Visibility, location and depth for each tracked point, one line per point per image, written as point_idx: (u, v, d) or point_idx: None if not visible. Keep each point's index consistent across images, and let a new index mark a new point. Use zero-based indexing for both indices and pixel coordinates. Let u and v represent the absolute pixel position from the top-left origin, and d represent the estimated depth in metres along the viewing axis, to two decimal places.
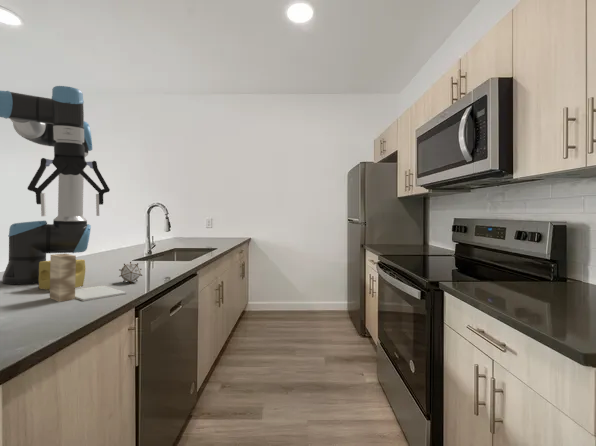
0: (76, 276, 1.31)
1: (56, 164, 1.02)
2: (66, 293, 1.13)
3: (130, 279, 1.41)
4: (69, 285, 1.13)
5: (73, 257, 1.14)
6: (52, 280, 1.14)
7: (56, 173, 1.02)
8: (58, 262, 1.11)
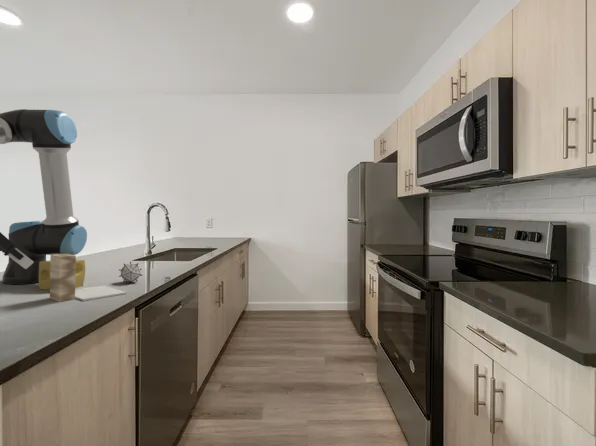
0: (76, 276, 1.31)
1: None
2: (66, 293, 1.13)
3: (130, 279, 1.41)
4: (69, 285, 1.13)
5: (73, 257, 1.14)
6: (52, 280, 1.14)
7: None
8: (58, 262, 1.11)
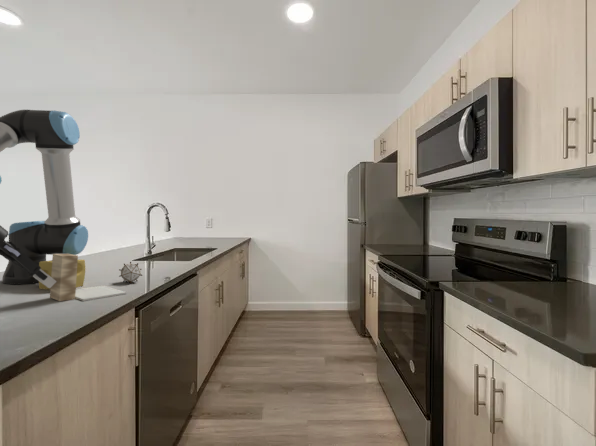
0: None
1: None
2: (67, 293, 1.13)
3: (130, 279, 1.41)
4: (70, 285, 1.13)
5: (75, 257, 1.14)
6: None
7: (7, 259, 1.03)
8: (60, 261, 1.12)
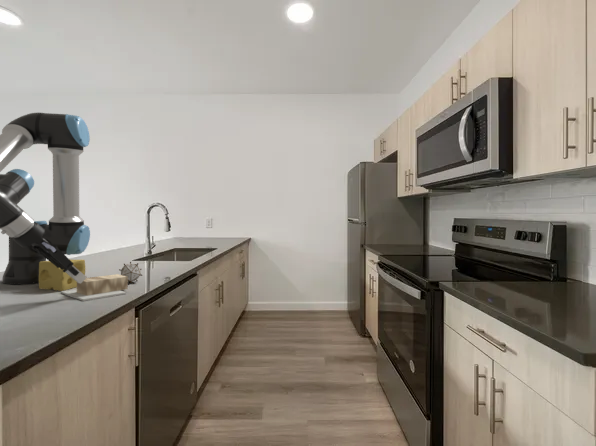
0: None
1: None
2: (93, 287, 1.19)
3: (130, 279, 1.41)
4: (100, 288, 1.21)
5: (126, 287, 1.28)
6: (97, 277, 1.25)
7: (43, 255, 1.10)
8: (121, 276, 1.28)
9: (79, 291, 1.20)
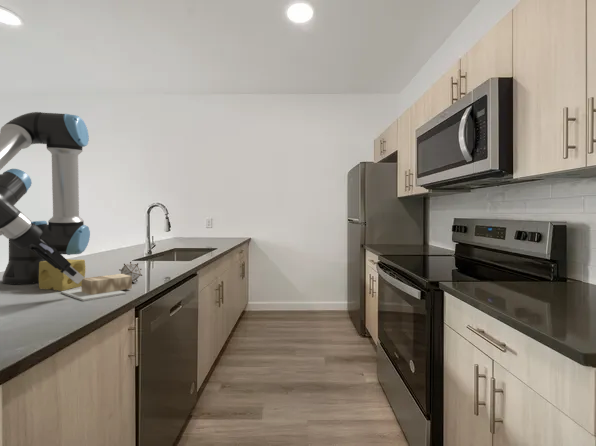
0: None
1: None
2: (97, 286, 1.20)
3: None
4: (105, 287, 1.22)
5: (130, 286, 1.30)
6: (102, 276, 1.27)
7: (41, 256, 1.10)
8: (125, 276, 1.29)
9: (84, 290, 1.22)
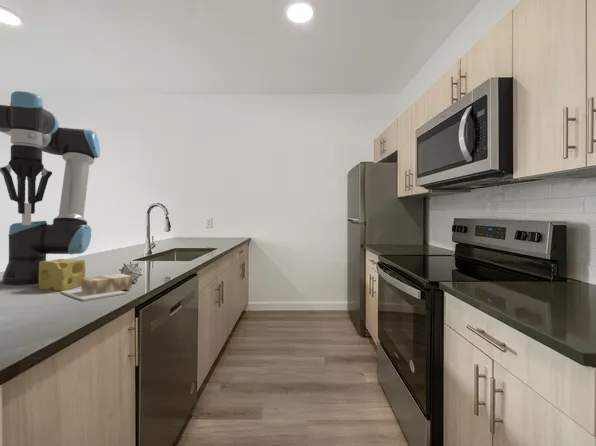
0: (76, 276, 1.31)
1: (16, 166, 1.04)
2: (97, 286, 1.20)
3: None
4: (105, 287, 1.22)
5: (130, 286, 1.30)
6: (102, 276, 1.27)
7: (24, 178, 1.06)
8: (125, 276, 1.29)
9: (84, 290, 1.22)
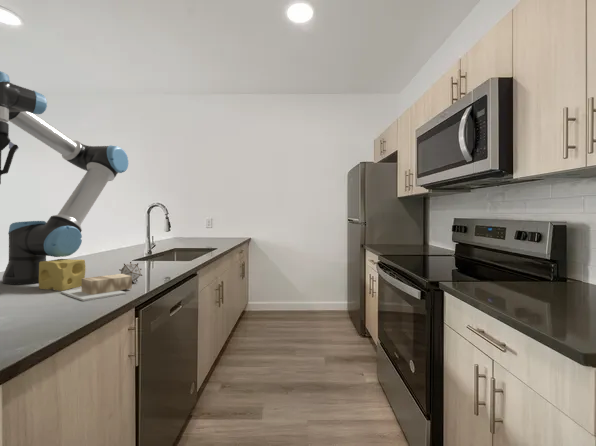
0: (76, 276, 1.31)
1: None
2: (97, 286, 1.20)
3: None
4: (105, 287, 1.22)
5: (130, 286, 1.30)
6: (102, 276, 1.27)
7: None
8: (125, 276, 1.29)
9: (84, 290, 1.22)
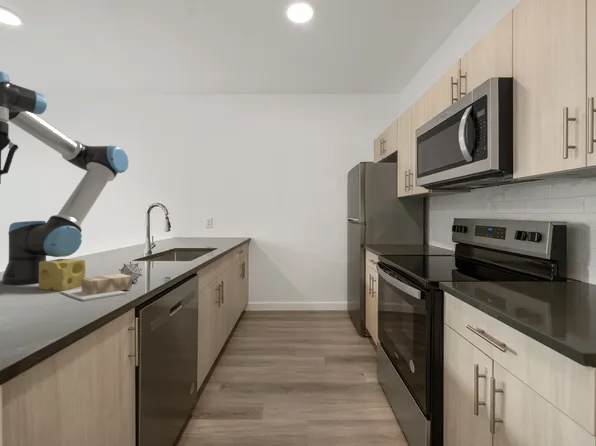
0: (76, 276, 1.31)
1: None
2: (97, 286, 1.20)
3: None
4: (105, 287, 1.22)
5: (130, 286, 1.30)
6: (102, 276, 1.27)
7: None
8: (125, 276, 1.29)
9: (84, 290, 1.22)
